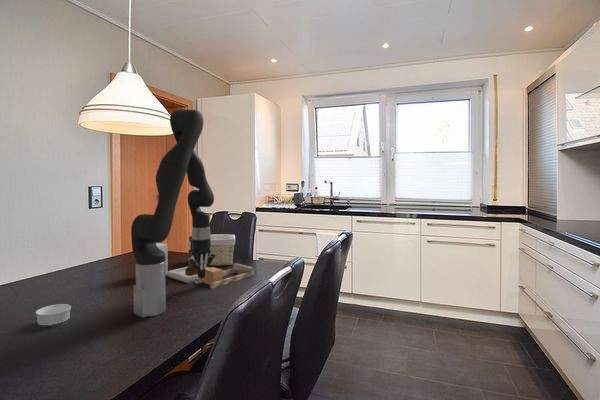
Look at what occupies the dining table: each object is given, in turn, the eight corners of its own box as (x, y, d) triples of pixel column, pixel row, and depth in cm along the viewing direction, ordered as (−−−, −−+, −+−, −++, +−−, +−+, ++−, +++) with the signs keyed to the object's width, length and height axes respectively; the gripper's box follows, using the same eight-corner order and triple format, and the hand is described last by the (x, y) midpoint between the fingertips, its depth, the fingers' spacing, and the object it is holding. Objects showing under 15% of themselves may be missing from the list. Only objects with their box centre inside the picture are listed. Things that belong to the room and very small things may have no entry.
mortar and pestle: (195, 276, 150) (195, 237, 149) (182, 275, 151) (182, 236, 150) (202, 272, 156) (202, 234, 155) (190, 271, 157) (189, 234, 156)
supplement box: (138, 278, 149) (137, 246, 148) (151, 273, 157) (151, 242, 156) (155, 280, 146) (155, 247, 146) (168, 274, 155) (168, 243, 154)
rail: (212, 288, 136) (212, 279, 135) (194, 283, 143) (194, 274, 143) (253, 275, 155) (253, 267, 155) (236, 271, 162) (236, 263, 162)
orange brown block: (213, 286, 139) (213, 272, 139) (203, 282, 143) (203, 269, 143) (222, 283, 143) (222, 269, 143) (212, 280, 147) (212, 266, 147)
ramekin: (66, 314, 109) (66, 301, 109) (75, 321, 103) (74, 308, 103) (32, 323, 102) (32, 309, 102) (40, 331, 96) (39, 317, 96)
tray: (188, 283, 142) (188, 277, 142) (167, 276, 152) (167, 271, 152) (217, 275, 155) (217, 269, 155) (197, 269, 165) (197, 264, 165)
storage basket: (234, 258, 189) (234, 233, 188) (235, 265, 173) (235, 238, 172) (191, 260, 184) (191, 234, 183) (188, 268, 168) (187, 239, 167)
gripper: (193, 240, 130) (193, 283, 131) (219, 236, 140) (219, 276, 142) (182, 238, 134) (182, 280, 135) (208, 234, 145) (208, 273, 146)
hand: (201, 277), depth 138 cm, fingers closed
